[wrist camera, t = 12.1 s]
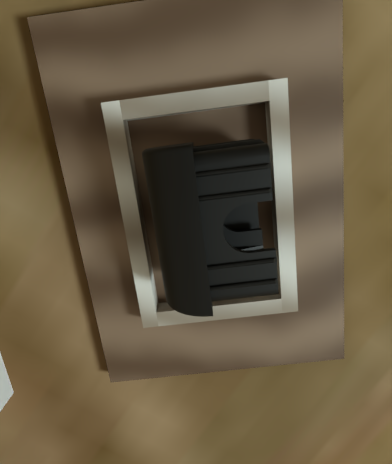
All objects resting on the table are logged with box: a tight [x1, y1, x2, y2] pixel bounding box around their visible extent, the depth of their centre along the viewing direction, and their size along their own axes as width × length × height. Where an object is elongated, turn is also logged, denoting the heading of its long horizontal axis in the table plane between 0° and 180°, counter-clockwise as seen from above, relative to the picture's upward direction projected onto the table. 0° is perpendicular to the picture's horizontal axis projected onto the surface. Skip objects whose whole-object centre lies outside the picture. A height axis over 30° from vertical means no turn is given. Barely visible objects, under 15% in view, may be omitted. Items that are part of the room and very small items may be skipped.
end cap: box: [142, 139, 279, 317], centre depth 22 cm, size 10×7×7 cm
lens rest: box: [27, 0, 344, 382], centre depth 25 cm, size 28×20×3 cm
